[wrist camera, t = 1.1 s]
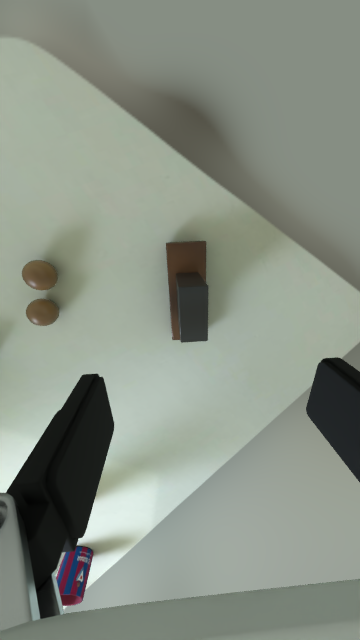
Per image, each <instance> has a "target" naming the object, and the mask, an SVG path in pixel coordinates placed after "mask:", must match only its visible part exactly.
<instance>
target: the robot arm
mask: <svg viewBox="0 0 360 640" xmlns="http://www.w3.org/2000/svg"><path fill="white" fill-rule="evenodd" d="M306 411H307V414H308V416H309V417H310V419H311V420H312V421H313V423H314V424H315V425H316V426H317V428H318V429H319V430H320V432H321V433H322V434H323V436H324V437H325V438H326V439H327V441H328V442H329V443H330V445H331V446H332V447H333V448H334V450H335V451H336V452H337V454H338V455H339V456H340V457H341V459H342V460H343V461H344V463H345V464H346V465H347V466H348V468H349V469H350V470H351V472H352V473H353V474H354V475H355V477H356V478H357V479H358V481H359V482H360V372H359V371H358V370H356V369H355V368H354V367H352V366H351V365H349V364H348V363H347V362H345V361H344V360H342V359H341V358H325V359H323V360H322V361H321V362H320V363H319V364H318V367H317V370H316V374H315V378H314V381H313V385H312V389H311V392H310V396H309V400H308V403H307V407H306ZM113 431H114V421H113V417H112V412H111V408H110V404H109V400H108V395H107V391H106V387H105V383H104V379H103V377H99V375H98V374H86V375H82V376H81V378H80V380H79V381H78V383H77V384H76V386H75V388H74V389H73V391H72V393H71V394H70V396H69V397H68V399H67V401H66V402H65V404H64V406H63V407H62V409H61V410H59V411H58V412H57V413H56V414H55V416H54V417H53V419H52V421H51V422H50V424H49V425H48V427H47V428H46V430H45V432H44V433H43V435H42V436H41V438H40V440H39V441H38V443H37V444H36V446H35V447H34V449H33V451H32V452H31V454H30V455H29V457H28V459H27V460H26V462H25V463H24V465H23V467H22V468H21V470H20V471H19V473H18V474H17V476H16V478H15V479H14V481H13V482H12V484H11V486H10V487H9V489H8V490H7V492H6V493H0V640H360V579H356V580H347V581H337V582H327V583H318V584H308V585H299V586H290V587H281V588H271V589H263V590H253V591H244V592H235V593H226V594H218V595H208V596H200V597H191V598H182V599H174V600H164V601H156V602H147V603H138V604H131V605H124V606H117V607H109V608H102V609H95V610H88V611H81V612H73V613H67V614H64V610H63V606H62V601H61V597H60V593H59V589H58V584H57V580H56V576H55V570H56V569H57V566H58V563H59V560H60V557H61V554H62V553H63V552H73V551H75V548H76V545H77V542H78V538H82V537H83V536H84V534H85V531H86V528H87V524H88V521H89V517H90V514H91V510H92V507H93V503H94V499H95V496H96V492H97V489H98V485H99V481H100V478H101V474H102V471H103V467H104V464H105V460H106V456H107V453H108V449H109V446H110V442H111V438H112V435H113Z"/></svg>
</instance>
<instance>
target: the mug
mask: <svg viewBox="0 0 360 640" xmlns="http://www.w3.org/2000/svg"><path fill="white" fill-rule="evenodd" d="M92 558H93V551H92V550H91V549H89V548H87V547H80V546H79V547H76V548H75V551H73V552H65V555H64V557H63V560H62V562H61V564H60V568H59V571H58V574H57V577H56V580H57V584H58V589H59V593H60V597H61V601H62V606H69V605H76V604H78V603H81V602H82V600H83V597H84V592H85V588H86V584H87V579H88V575H89V571H90V567H91V562H92Z"/></svg>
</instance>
